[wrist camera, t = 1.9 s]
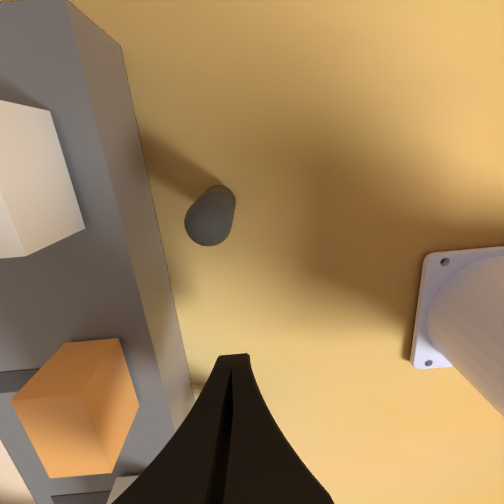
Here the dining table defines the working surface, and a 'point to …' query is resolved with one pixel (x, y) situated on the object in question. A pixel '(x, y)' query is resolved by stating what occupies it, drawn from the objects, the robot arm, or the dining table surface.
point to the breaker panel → (88, 246)
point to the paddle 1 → (33, 183)
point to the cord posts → (211, 216)
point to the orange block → (79, 408)
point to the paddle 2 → (120, 487)
